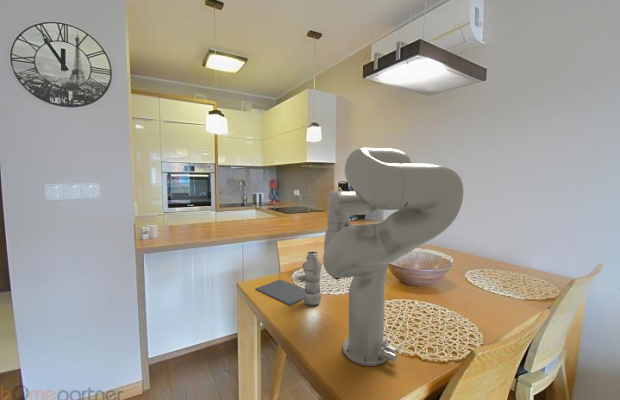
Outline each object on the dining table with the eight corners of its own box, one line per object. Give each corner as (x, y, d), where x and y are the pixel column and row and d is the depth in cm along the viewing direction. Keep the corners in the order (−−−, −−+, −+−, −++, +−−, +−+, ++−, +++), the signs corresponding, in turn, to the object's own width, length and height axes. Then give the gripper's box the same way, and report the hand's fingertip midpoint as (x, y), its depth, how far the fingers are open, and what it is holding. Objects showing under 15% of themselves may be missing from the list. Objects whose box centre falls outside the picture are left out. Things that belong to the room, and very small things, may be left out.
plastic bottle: (301, 301, 105) (301, 251, 103) (317, 298, 107) (317, 249, 106) (307, 309, 99) (306, 256, 97) (323, 305, 101) (324, 254, 100)
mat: (314, 294, 112) (314, 292, 112) (290, 305, 101) (290, 304, 101) (280, 280, 127) (280, 279, 126) (255, 289, 116) (255, 288, 116)
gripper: (363, 227, 90) (362, 280, 92) (328, 222, 100) (328, 270, 102) (350, 231, 85) (349, 287, 86) (315, 225, 95) (314, 275, 96)
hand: (337, 278), depth 94 cm, fingers closed
